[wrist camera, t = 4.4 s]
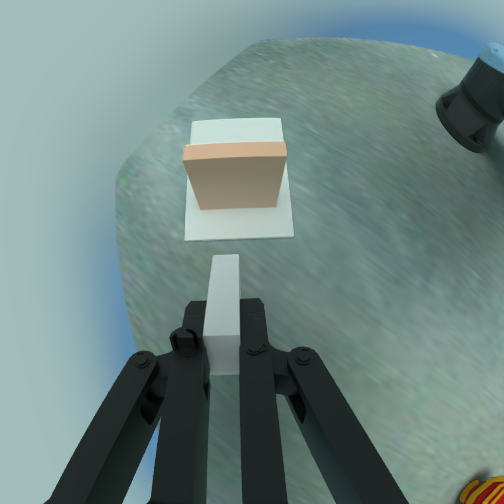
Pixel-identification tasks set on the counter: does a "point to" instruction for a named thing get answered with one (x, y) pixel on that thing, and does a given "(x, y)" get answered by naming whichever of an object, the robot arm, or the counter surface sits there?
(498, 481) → the potion bottle
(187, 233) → the white rectangular board
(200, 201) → the terracotta tile
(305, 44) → the counter surface
